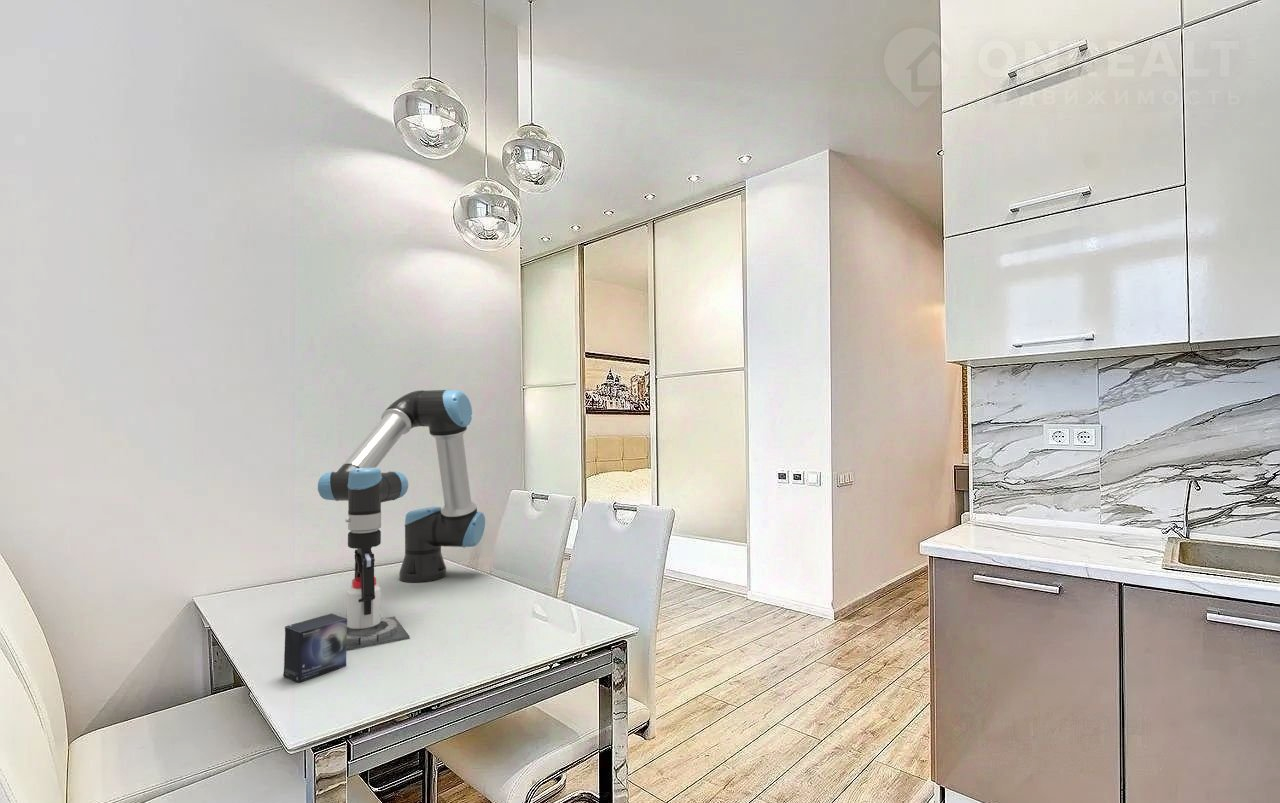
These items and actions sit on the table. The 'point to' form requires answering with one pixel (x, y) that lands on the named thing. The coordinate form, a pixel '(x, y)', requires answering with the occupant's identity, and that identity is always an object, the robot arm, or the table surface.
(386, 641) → the ring seat
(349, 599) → the pill bottle
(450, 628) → the table surface
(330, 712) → the table surface
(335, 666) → the small box
